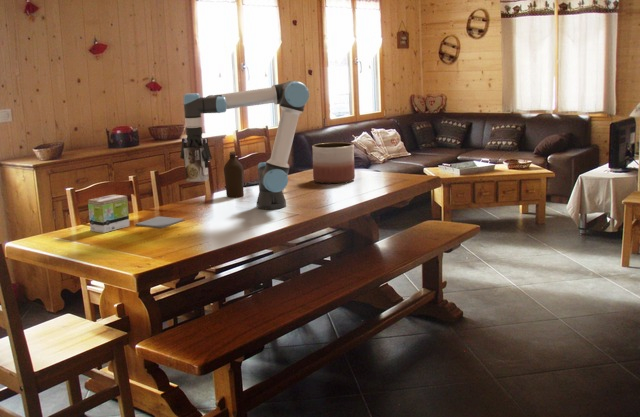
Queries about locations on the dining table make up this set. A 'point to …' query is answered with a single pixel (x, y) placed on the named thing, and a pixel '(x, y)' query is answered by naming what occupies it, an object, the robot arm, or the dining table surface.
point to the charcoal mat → (160, 222)
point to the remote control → (250, 184)
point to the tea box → (108, 213)
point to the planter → (333, 163)
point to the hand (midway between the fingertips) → (197, 173)
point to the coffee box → (194, 164)
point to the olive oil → (233, 177)
